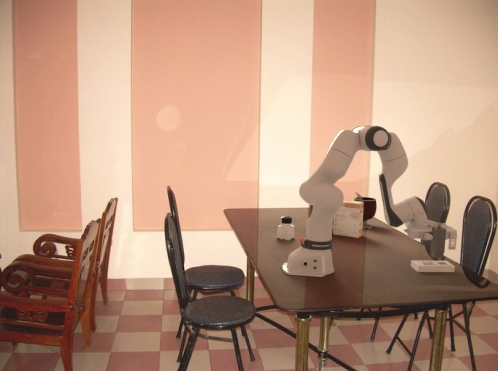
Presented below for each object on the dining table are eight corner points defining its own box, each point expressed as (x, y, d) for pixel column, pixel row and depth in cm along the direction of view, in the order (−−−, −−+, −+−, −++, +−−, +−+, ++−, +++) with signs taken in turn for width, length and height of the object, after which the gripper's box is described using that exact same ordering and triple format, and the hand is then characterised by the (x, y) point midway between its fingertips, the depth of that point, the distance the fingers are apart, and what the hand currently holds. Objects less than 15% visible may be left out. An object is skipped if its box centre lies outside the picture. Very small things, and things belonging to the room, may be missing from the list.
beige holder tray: (417, 275, 207) (418, 265, 206) (410, 269, 214) (411, 260, 214) (454, 275, 207) (454, 266, 207) (445, 269, 215) (446, 260, 214)
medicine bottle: (294, 237, 265) (295, 216, 263) (288, 240, 259) (289, 218, 257) (283, 235, 269) (283, 214, 267) (276, 238, 263) (277, 217, 261)
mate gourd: (380, 227, 293) (382, 194, 290) (363, 229, 286) (365, 196, 283) (362, 222, 307) (364, 191, 304) (345, 224, 300) (347, 192, 297)
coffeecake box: (362, 235, 273) (364, 201, 270) (358, 238, 266) (360, 203, 264) (337, 232, 280) (338, 198, 277) (332, 234, 274) (334, 200, 271)
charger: (434, 258, 199) (437, 224, 197) (429, 255, 203) (432, 221, 201) (443, 258, 199) (446, 224, 197) (439, 255, 204) (441, 221, 201)
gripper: (403, 222, 212) (415, 230, 198) (448, 223, 213) (463, 230, 199) (402, 236, 213) (414, 245, 199) (447, 236, 214) (462, 245, 200)
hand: (439, 237), depth 199 cm, fingers closed on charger, 4 cm apart
